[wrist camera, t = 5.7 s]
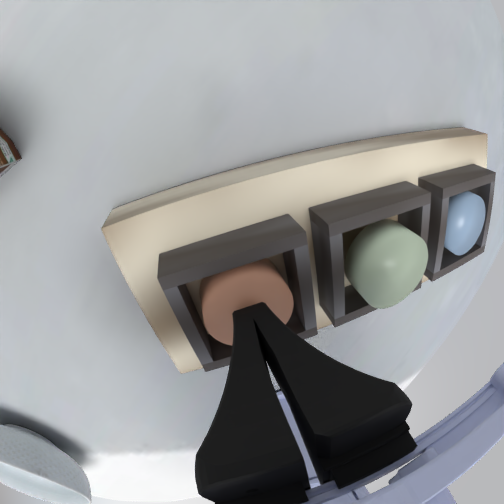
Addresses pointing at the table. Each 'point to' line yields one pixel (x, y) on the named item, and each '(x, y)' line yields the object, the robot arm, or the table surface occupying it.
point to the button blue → (464, 222)
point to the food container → (7, 153)
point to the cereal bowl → (40, 468)
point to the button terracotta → (242, 296)
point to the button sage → (386, 263)
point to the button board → (292, 229)
